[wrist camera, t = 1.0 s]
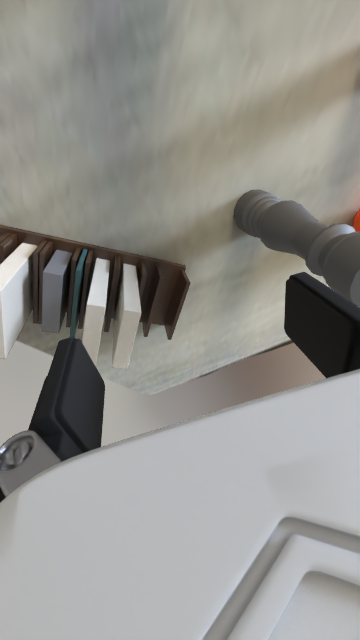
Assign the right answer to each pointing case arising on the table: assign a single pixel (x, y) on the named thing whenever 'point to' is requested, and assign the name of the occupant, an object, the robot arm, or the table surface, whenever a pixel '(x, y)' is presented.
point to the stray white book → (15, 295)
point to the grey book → (56, 291)
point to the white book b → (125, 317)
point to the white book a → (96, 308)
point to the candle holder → (304, 239)
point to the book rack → (152, 275)
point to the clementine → (357, 222)
